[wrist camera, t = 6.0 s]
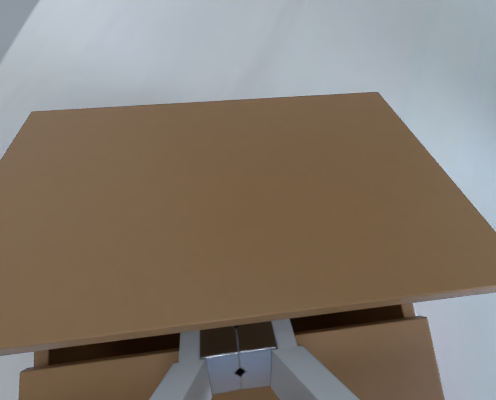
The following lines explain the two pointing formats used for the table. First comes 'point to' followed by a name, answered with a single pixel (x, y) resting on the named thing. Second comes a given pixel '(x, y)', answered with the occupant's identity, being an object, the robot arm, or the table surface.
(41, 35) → the table surface
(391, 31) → the table surface
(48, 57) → the table surface
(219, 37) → the table surface
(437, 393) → the carton
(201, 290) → the flap
